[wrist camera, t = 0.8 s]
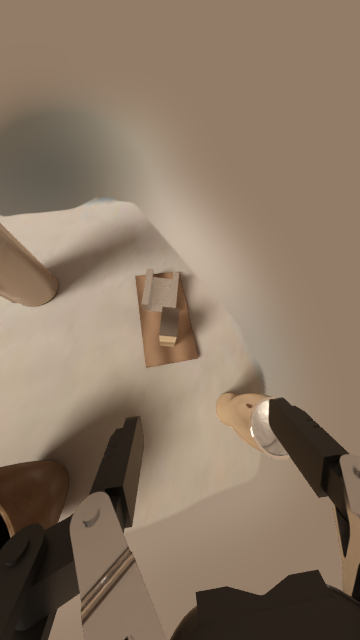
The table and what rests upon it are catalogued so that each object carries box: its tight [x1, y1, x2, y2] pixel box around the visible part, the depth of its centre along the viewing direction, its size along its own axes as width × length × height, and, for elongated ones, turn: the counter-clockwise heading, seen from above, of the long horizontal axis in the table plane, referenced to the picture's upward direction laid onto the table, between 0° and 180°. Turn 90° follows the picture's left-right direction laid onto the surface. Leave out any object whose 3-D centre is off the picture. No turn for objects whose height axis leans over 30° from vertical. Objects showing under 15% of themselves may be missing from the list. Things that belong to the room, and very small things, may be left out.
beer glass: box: [216, 393, 290, 460], centre depth 27 cm, size 7×7×15 cm
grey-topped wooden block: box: [159, 307, 180, 347], centre depth 33 cm, size 5×3×9 cm, turn 176°
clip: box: [141, 269, 179, 312], centre depth 39 cm, size 9×7×3 cm
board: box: [135, 272, 198, 368], centre depth 39 cm, size 11×22×1 cm, turn 11°
